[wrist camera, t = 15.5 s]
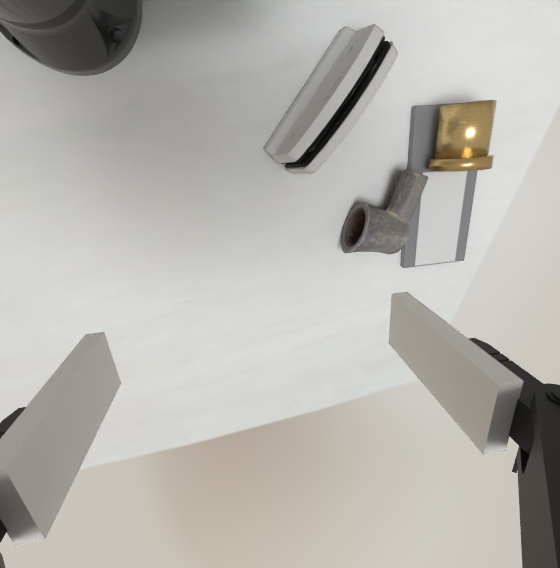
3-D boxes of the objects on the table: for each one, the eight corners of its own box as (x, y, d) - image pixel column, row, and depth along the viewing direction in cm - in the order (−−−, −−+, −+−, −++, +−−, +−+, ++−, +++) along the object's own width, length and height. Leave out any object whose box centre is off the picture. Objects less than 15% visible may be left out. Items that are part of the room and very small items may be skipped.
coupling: (423, 110, 42) (459, 101, 35) (474, 106, 43) (518, 97, 36) (418, 170, 45) (450, 172, 38) (465, 165, 45) (506, 167, 39)
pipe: (444, 181, 40) (395, 164, 37) (399, 271, 46) (352, 261, 43) (415, 172, 45) (369, 156, 42) (377, 253, 51) (334, 244, 48)
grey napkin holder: (341, 27, 38) (386, -5, 29) (368, 57, 40) (417, 36, 31) (261, 151, 41) (278, 156, 33) (289, 173, 43) (313, 184, 35)
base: (411, 107, 42) (416, 106, 41) (482, 102, 43) (488, 100, 42) (400, 265, 50) (404, 268, 49) (459, 258, 51) (464, 260, 50)
